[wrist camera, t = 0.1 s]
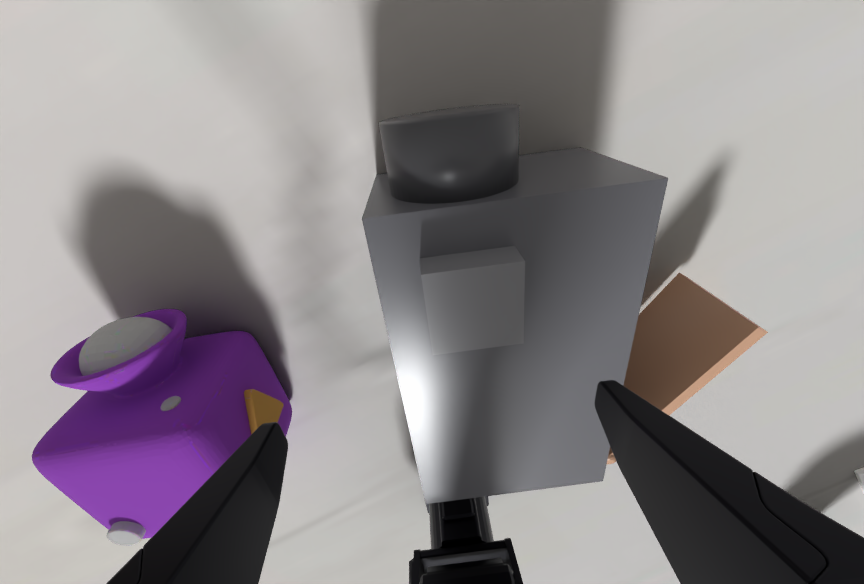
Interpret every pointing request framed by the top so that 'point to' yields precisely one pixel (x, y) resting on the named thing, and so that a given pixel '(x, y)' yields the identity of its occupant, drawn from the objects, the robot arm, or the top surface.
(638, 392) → the side door
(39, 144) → the top surface
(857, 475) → the photo frame
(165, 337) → the toy camera
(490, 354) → the block
